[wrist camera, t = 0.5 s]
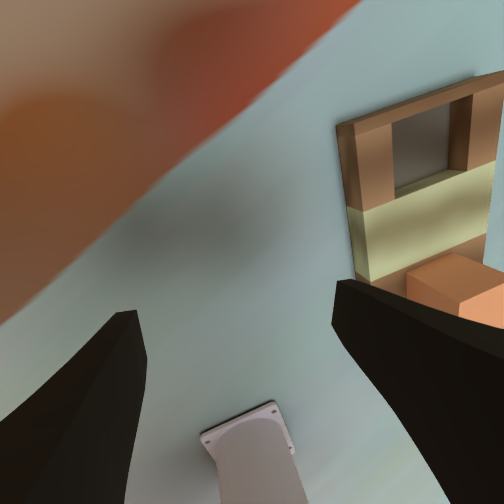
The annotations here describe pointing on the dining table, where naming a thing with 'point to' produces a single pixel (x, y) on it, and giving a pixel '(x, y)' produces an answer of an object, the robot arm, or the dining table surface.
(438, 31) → the dining table surface
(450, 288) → the block
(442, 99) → the board
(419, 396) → the robot arm
